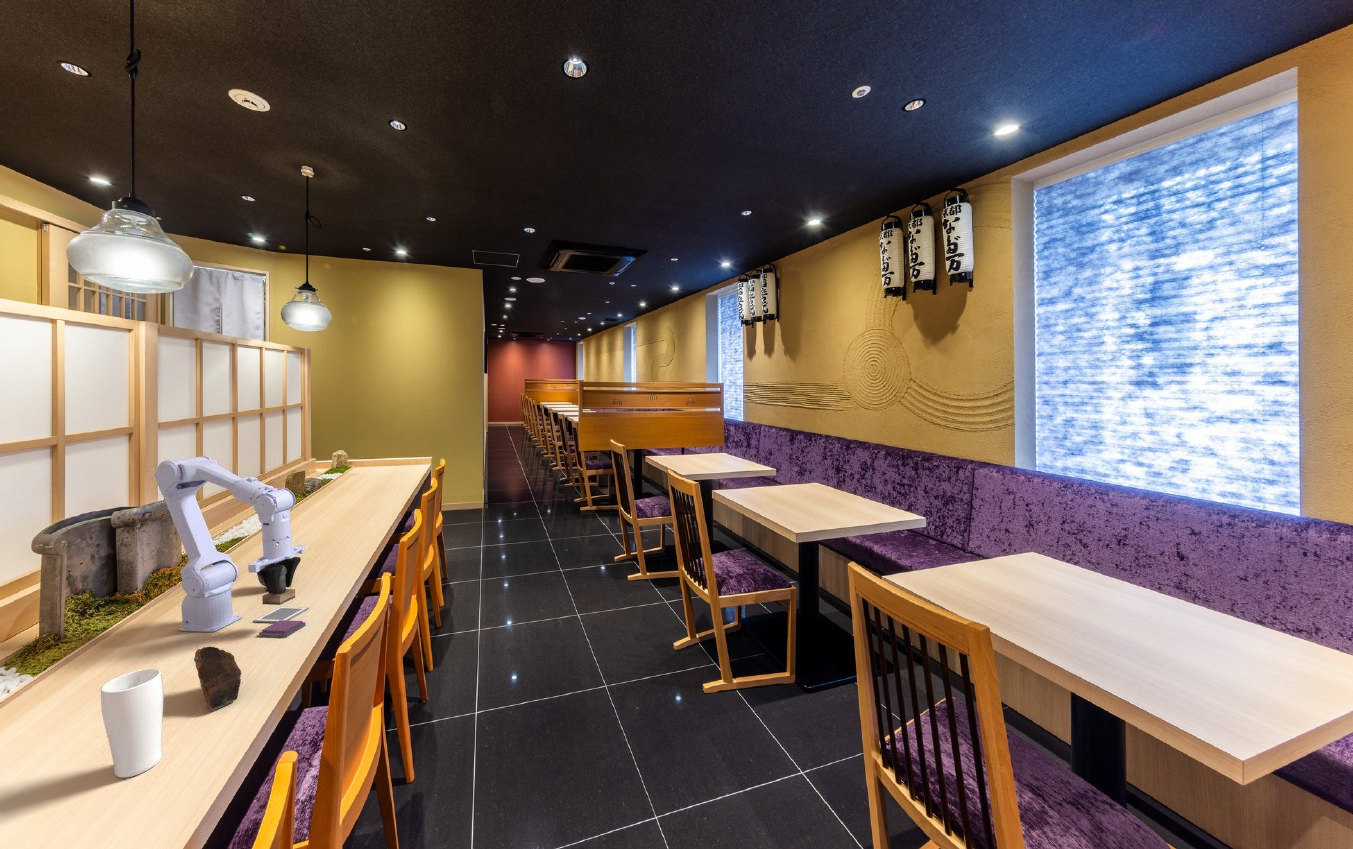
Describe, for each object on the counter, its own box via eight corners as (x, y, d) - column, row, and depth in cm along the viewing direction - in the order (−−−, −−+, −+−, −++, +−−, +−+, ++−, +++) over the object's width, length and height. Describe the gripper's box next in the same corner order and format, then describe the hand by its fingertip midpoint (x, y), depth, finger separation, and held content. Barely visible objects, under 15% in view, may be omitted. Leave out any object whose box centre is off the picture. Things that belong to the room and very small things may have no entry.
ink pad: (259, 636, 123) (258, 630, 123) (279, 624, 129) (279, 619, 129) (286, 637, 123) (285, 631, 122) (305, 625, 128) (305, 620, 128)
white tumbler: (163, 745, 86) (157, 663, 85) (173, 763, 82) (166, 676, 81) (104, 770, 80) (96, 682, 79) (111, 790, 76) (103, 698, 75)
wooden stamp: (262, 604, 124) (261, 567, 123) (278, 597, 129) (277, 561, 128) (280, 604, 124) (279, 568, 123) (295, 597, 128) (294, 562, 128)
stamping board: (252, 622, 130) (252, 620, 130) (280, 608, 138) (280, 606, 138) (283, 623, 130) (283, 621, 130) (308, 608, 138) (308, 607, 138)
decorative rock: (194, 692, 101) (190, 641, 100) (233, 678, 105) (230, 630, 105) (204, 717, 93) (200, 662, 92) (246, 701, 98) (242, 649, 97)
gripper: (266, 547, 118) (269, 602, 119) (314, 529, 132) (317, 579, 133) (238, 546, 118) (242, 601, 119) (289, 528, 132) (292, 578, 134)
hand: (280, 589), depth 126 cm, fingers closed on wooden stamp, 3 cm apart
